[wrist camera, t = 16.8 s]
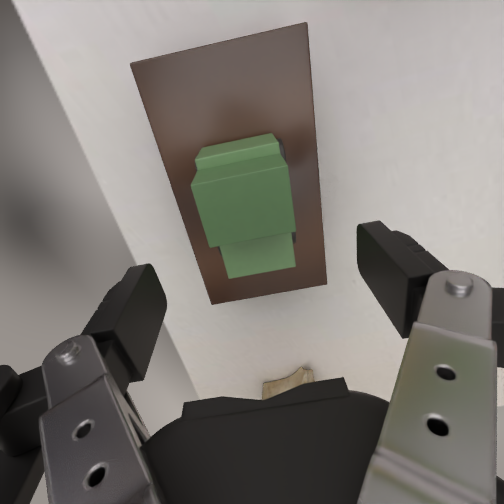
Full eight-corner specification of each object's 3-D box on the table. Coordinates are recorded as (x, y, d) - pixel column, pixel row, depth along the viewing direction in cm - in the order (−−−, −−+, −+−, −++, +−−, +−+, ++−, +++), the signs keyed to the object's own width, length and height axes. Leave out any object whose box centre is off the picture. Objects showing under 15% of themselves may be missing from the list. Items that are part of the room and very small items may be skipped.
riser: (312, 251, 26) (327, 284, 22) (215, 269, 27) (211, 305, 22) (291, 36, 18) (307, 21, 14) (154, 68, 19) (128, 62, 14)
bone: (352, 378, 33) (348, 488, 28) (322, 381, 38) (313, 474, 33) (284, 355, 31) (266, 467, 26) (263, 362, 37) (244, 456, 31)
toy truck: (195, 147, 17) (176, 174, 11) (278, 129, 16) (296, 149, 11) (224, 251, 20) (219, 307, 15) (293, 238, 20) (312, 291, 15)
